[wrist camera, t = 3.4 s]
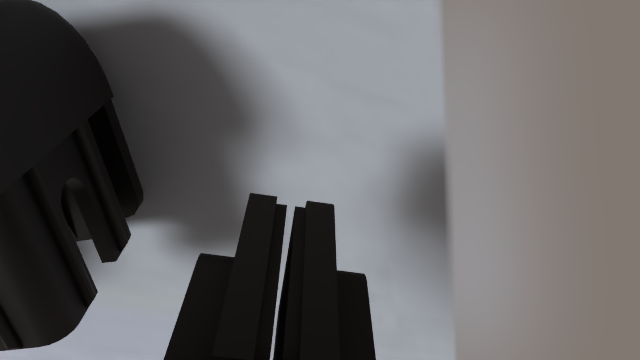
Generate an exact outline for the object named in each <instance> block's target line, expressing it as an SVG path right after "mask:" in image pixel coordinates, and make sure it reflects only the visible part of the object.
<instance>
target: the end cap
mask: <svg viewBox="0 0 640 360" xmlns="http://www.w3.org/2000/svg"><path fill="white" fill-rule="evenodd" d="M111 98H113V93H112V91H111V88H110V86H109V83H108V81H107V78H106V76H105V74H104V72H103V70H102V68H101V66H100V64H99V62H98V60H97V58H96V57H95V55H94V54H93V52H92V50H91V49H90V47H89V46H88V44H87V43H86V41H85V40H84V39H83V38H82V37H81V35H80V34H79V33H78V32H77V31H76V29H75V28H74V27H73V26H72V25H71V24H70V23H68V22H67V21H66V20H65V19H64V18H63V17H61V16H60V15H59V14H58V13H57V12H55V11H53V10H52V9H50V8H48V7H46V6H45V5H43V4H41V3H39V2H36V1H32V0H0V351H6V350H15V349H25V348H34V347H42V346H46V345H50V344H52V343H55V342H57V341H59V340H61V339H62V338H64V337H66V336H67V335H68V334H70V333H71V332H72V331H73V330H74V329H75V328H76V327H77V325H78V324H79V323H80V321H81V319H82V318H83V316H84V314H85V313H86V311H87V309H88V308H89V306H90V304H91V303H92V301H93V300H94V298H95V296H96V294H97V292H98V291H97V289H96V287H95V284H94V282H93V280H92V278H91V275H90V273H89V271H88V269H87V266H86V264H85V262H84V260H83V257H82V255H81V253H80V250H79V248H78V246H77V244H76V241H81V240H90V239H92V240H93V242H94V245H95V247H96V249H97V252H98V254H99V256H100V259H101V261H102V263H105V262H114V261H117V259H118V257H119V256H120V254H121V252H122V251H123V249H124V247H125V246H126V244H127V243H128V240H129V239H130V236H131V233H130V230H129V227H128V225H127V222H126V219H125V218H127V217H129V216H131V215H134V214H135V212H136V211H137V209H138V208H139V206H140V205H141V203H142V201H143V190H142V187H141V184H140V181H139V178H138V175H137V172H136V169H135V167H134V164H133V161H132V158H131V155H130V152H129V149H128V146H127V144H126V141H125V138H124V135H123V132H122V129H121V126H120V123H119V121H118V118H117V115H116V112H115V109H114V106H113V103H112V100H111Z"/></svg>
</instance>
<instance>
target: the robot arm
mask: <svg viewBox="0 0 640 360" xmlns="http://www.w3.org/2000/svg"><path fill="white" fill-rule="evenodd" d="M276 202H277V197H276V196H269V195H261V194H254V193H250V196H249V200H248V204H247V208H246V212H245V216H244V221H243V225H242V229H241V233H240V238H239V242H238V246H237V250H236V254H235V257H227V256H219V255H211V254H204V253H201V254H200V255H199V257H198V260H197V262H196V265H195V268H194V271H193V274H192V277H191V280H190V283H189V286H188V289H187V292H186V295H185V298H184V301H183V304H182V307H181V310H180V313H179V316H178V319H177V322H176V325H175V328H174V330H173V333H172V336H171V339H170V342H169V345H168V348H167V351H166V354H165V357H164V360H270V352H271V344H272V335H273V326H274V317H275V308H276V299H277V290H278V281H279V272H280V263H281V254H282V245H283V236H284V227H285V218H286V209H287V205H281V204H276ZM273 360H376V357H375V348H374V340H373V331H372V322H371V313H370V305H369V296H368V287H367V280H366V276H365V274H361V273H354V272H346V271H338V270H337V266H336V240H335V214H334V205H333V204H327V203H320V202H312V201H307V202H306V207H305V208H303V207H295V211H294V217H293V224H292V230H291V236H290V242H289V248H288V255H287V261H286V267H285V273H284V279H283V286H282V292H281V298H280V304H279V311H278V319H277V328H276V338H275V347H274V357H273Z"/></svg>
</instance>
